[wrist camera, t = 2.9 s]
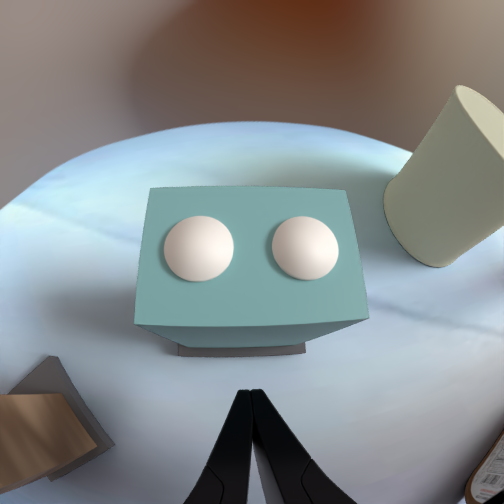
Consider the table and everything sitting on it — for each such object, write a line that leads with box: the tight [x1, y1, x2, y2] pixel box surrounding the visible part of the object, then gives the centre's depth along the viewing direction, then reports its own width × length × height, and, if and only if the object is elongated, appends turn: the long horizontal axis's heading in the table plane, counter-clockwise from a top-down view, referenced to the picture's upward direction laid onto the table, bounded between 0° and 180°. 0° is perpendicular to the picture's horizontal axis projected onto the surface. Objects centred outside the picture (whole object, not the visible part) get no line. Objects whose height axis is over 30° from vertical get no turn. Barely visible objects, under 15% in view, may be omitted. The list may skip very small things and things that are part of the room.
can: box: [384, 85, 504, 267], centre depth 15 cm, size 9×9×12 cm
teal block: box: [134, 186, 369, 348], centre depth 11 cm, size 4×6×9 cm, turn 92°
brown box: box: [0, 393, 97, 494], centre depth 7 cm, size 4×6×9 cm, turn 131°
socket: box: [7, 356, 115, 481], centre depth 12 cm, size 7×7×1 cm
